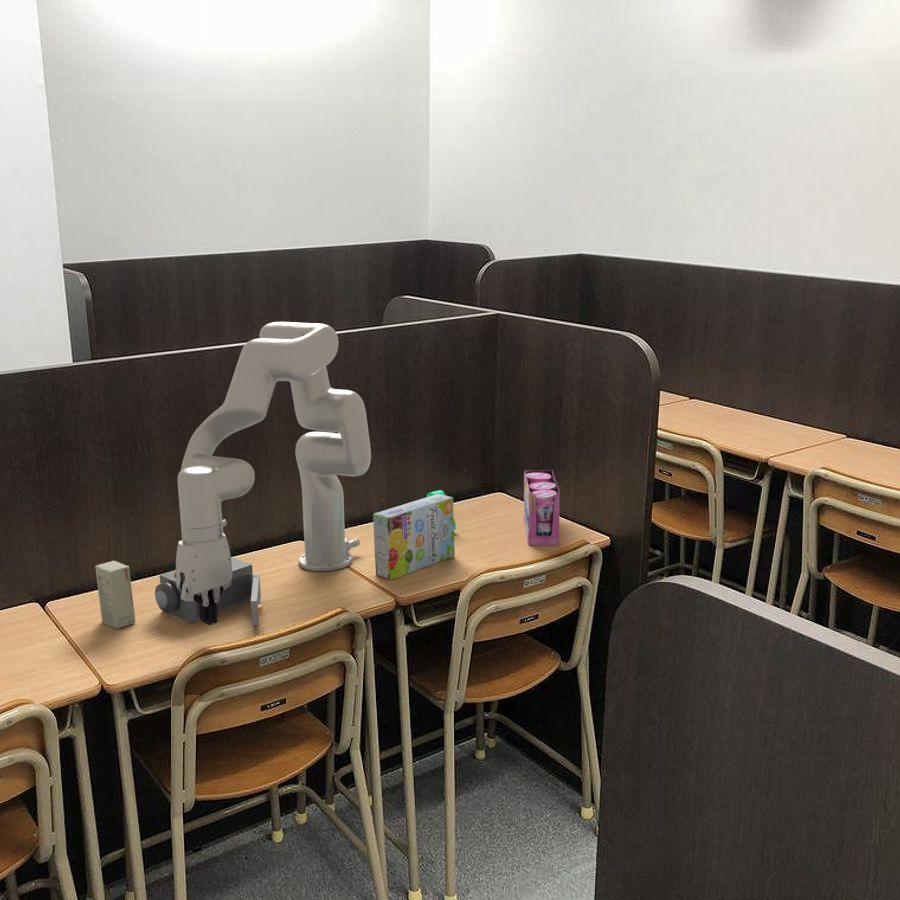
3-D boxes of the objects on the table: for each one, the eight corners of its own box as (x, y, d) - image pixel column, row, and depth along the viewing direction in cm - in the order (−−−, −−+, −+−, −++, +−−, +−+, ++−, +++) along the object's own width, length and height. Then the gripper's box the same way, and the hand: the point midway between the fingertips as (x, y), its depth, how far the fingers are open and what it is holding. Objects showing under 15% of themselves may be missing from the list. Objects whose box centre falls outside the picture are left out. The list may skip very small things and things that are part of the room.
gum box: (560, 547, 233) (561, 494, 230) (528, 547, 233) (528, 494, 230) (552, 518, 256) (553, 469, 253) (523, 518, 256) (523, 469, 253)
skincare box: (136, 623, 191) (131, 566, 188) (116, 630, 188) (110, 572, 185) (119, 614, 195) (114, 559, 192) (100, 621, 192) (94, 564, 189)
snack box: (438, 551, 231) (438, 492, 227) (455, 557, 227) (455, 497, 223) (374, 575, 216) (372, 512, 212) (390, 581, 212) (388, 517, 209)
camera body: (225, 588, 209) (223, 550, 207) (254, 599, 202) (252, 561, 200) (151, 614, 195) (148, 574, 193) (179, 627, 189) (176, 586, 187)
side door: (254, 596, 202) (253, 574, 201) (264, 595, 202) (263, 573, 201) (251, 625, 188) (250, 601, 187) (262, 624, 188) (261, 600, 187)
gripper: (223, 518, 186) (229, 605, 190) (156, 537, 175) (164, 629, 179) (246, 526, 181) (252, 615, 185) (179, 546, 170) (187, 640, 174)
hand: (209, 622), depth 182 cm, fingers closed
